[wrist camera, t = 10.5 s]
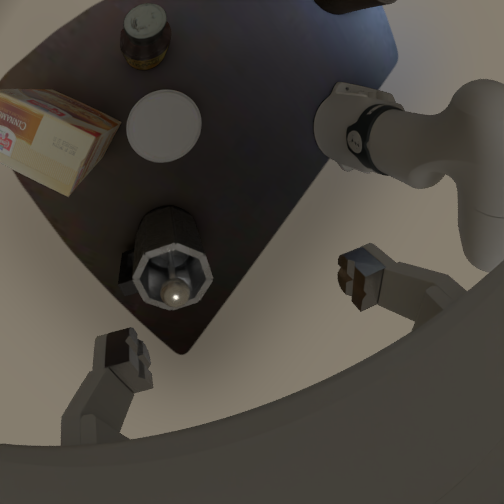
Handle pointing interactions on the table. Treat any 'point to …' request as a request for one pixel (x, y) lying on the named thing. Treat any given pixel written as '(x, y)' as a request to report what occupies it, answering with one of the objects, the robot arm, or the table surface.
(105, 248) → the table surface
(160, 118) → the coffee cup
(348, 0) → the pillar candle
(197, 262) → the press pot
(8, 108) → the coffeecake box
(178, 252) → the plunger
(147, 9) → the sauce bottle
